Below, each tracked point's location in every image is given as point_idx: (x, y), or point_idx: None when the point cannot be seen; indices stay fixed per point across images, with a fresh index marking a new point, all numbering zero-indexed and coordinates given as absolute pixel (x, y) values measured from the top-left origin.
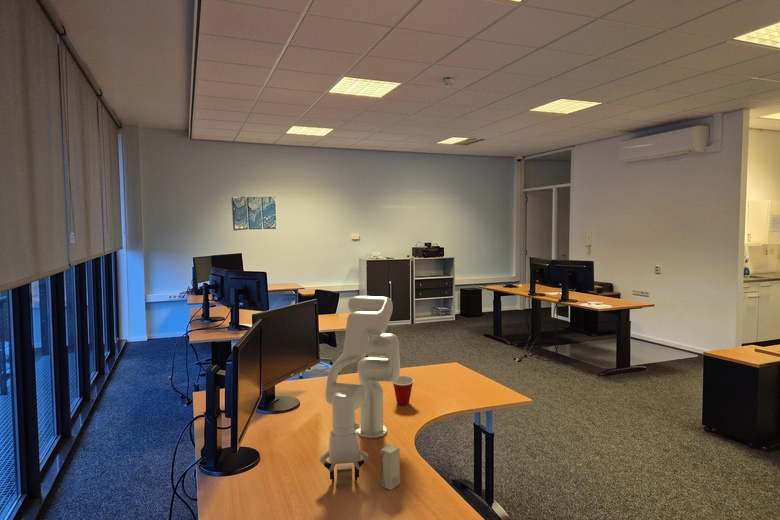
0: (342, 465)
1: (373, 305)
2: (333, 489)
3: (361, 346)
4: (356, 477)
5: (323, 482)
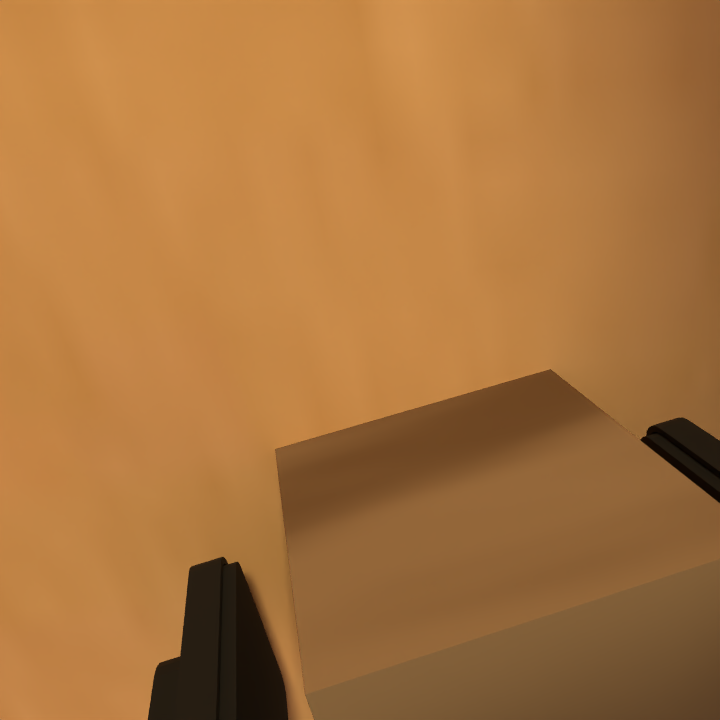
0: (498, 663)
1: None
2: (293, 716)
3: None
4: None
5: (38, 590)
